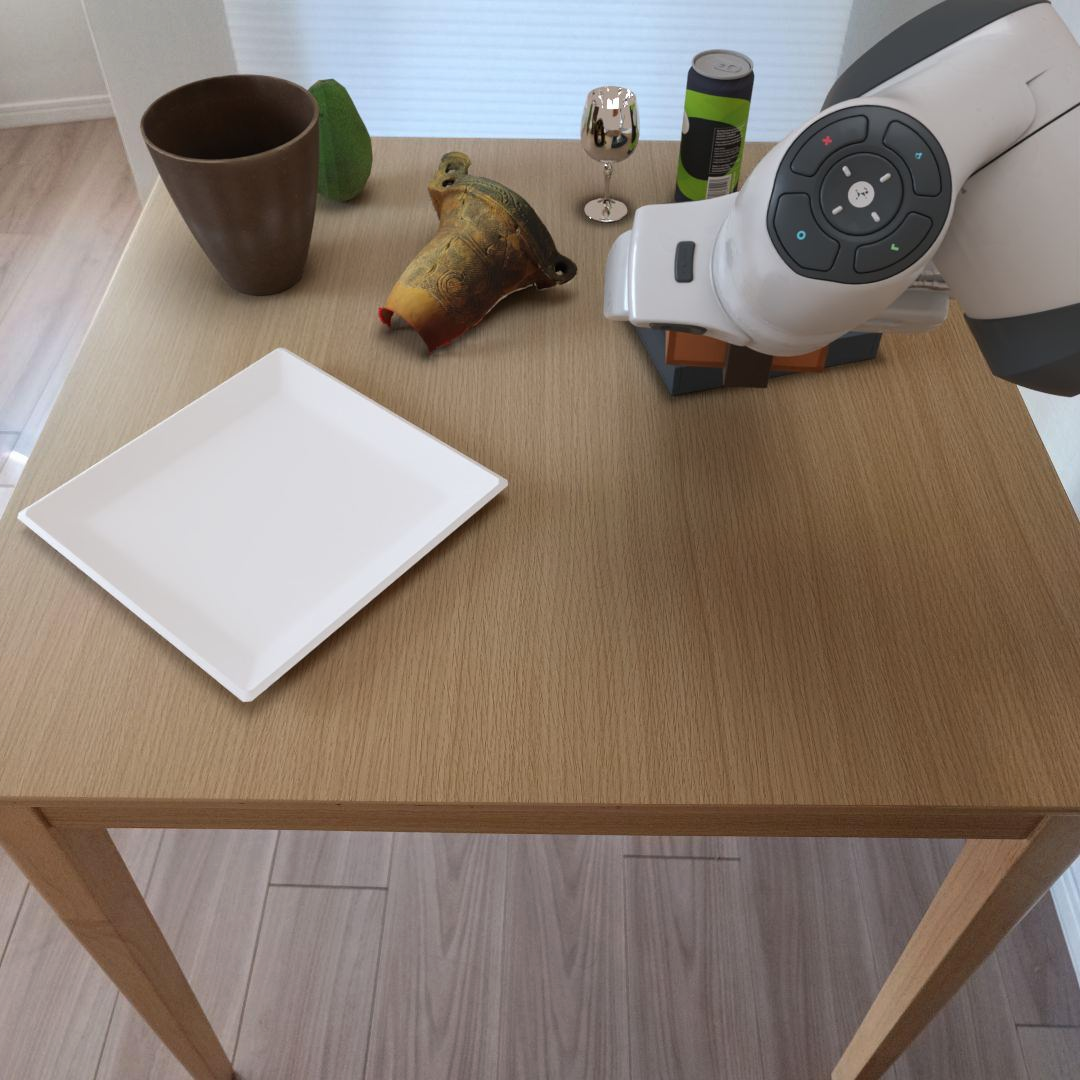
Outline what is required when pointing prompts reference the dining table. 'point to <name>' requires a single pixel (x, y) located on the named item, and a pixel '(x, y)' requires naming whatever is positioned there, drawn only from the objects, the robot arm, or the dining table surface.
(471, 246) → the pot
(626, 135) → the wineglass
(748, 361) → the pan
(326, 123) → the fruit
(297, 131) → the plant pot
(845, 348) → the tray
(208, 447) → the plate
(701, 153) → the beverage can
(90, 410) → the dining table surface
